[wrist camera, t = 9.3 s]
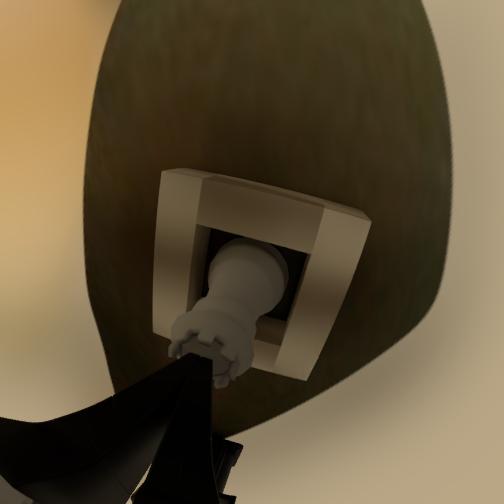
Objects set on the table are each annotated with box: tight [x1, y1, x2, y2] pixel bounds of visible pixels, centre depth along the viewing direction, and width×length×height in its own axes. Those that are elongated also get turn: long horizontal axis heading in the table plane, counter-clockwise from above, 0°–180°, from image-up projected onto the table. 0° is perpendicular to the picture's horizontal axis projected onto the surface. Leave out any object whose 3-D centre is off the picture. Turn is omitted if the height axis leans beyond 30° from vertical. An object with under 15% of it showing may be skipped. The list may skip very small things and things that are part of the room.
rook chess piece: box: [169, 237, 289, 389], centre depth 12 cm, size 4×4×8 cm
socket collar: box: [153, 168, 371, 381], centre depth 15 cm, size 10×10×2 cm
